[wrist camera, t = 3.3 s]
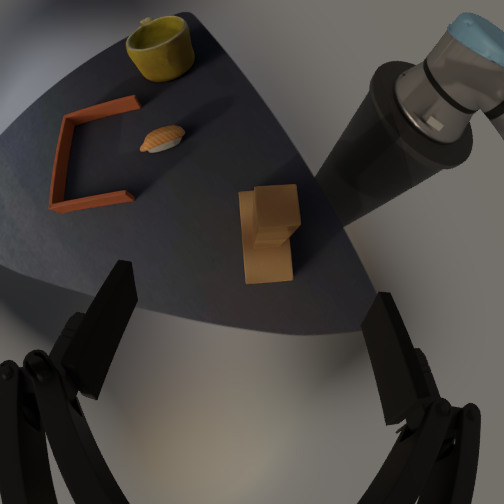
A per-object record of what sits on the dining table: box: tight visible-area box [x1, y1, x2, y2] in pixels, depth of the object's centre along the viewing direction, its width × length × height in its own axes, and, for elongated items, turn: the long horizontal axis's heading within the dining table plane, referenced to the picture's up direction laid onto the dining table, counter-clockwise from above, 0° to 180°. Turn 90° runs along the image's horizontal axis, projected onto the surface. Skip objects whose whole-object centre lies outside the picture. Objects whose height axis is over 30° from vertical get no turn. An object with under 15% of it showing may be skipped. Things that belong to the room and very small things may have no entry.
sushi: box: [140, 126, 185, 153], centre depth 33 cm, size 3×6×3 cm, turn 110°
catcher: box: [49, 95, 141, 213], centre depth 33 cm, size 13×15×3 cm
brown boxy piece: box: [239, 184, 301, 284], centre depth 26 cm, size 10×5×16 cm, turn 5°
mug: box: [126, 16, 195, 82], centre depth 32 cm, size 12×10×10 cm
